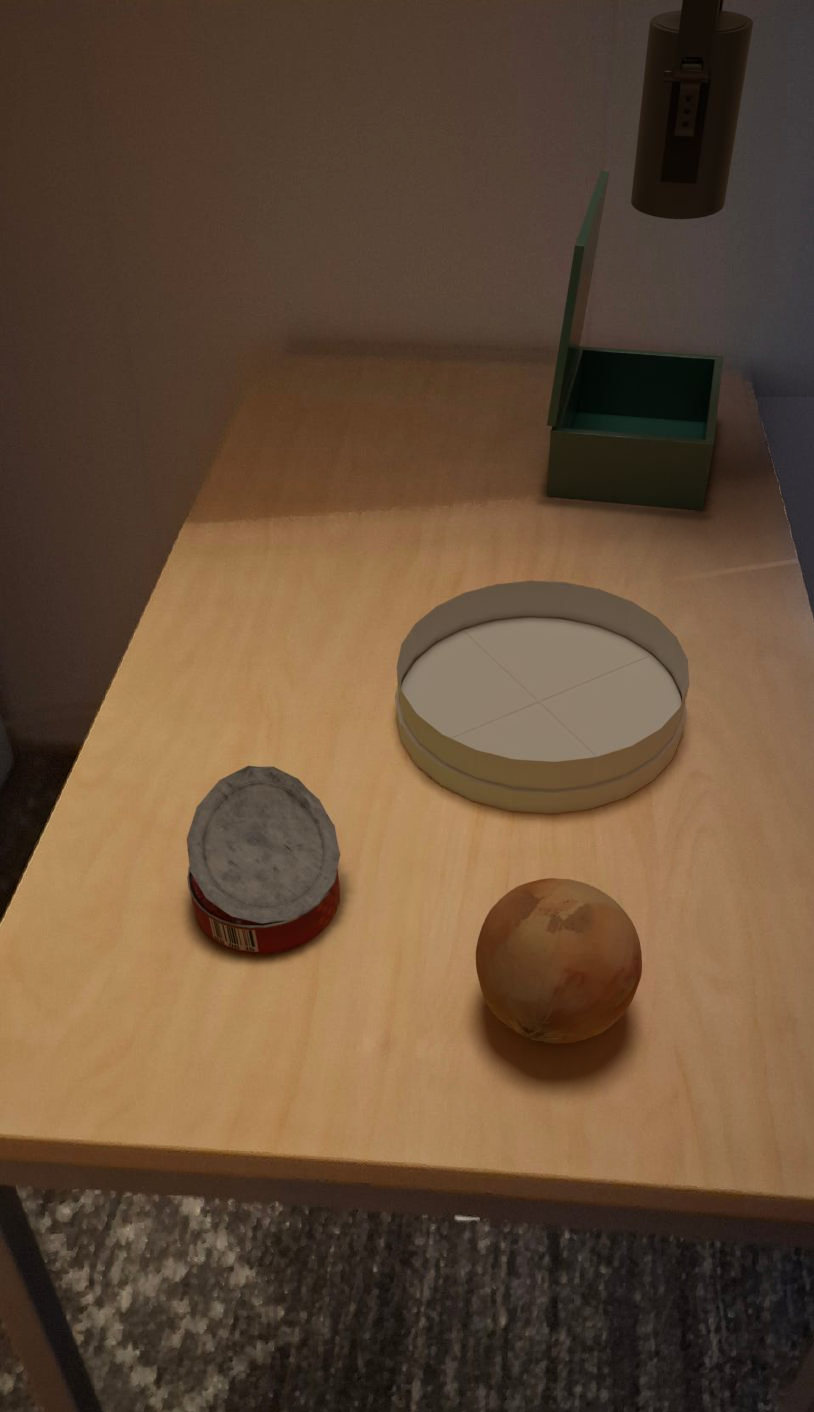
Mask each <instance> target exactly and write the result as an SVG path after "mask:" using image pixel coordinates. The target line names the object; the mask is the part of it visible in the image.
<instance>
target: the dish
mask: <svg viewBox="0 0 814 1412" xmlns="http://www.w3.org/2000/svg"><path fill="white" fill-rule="evenodd" d="M399 648H400V650H399V653H398V659H397V663H396V679H397V686H396V691H395V694H394V699H395V700H394V701H395V709H396V710H395V714H396V715H395V716H396V722H397V726H398V732H399V737H400V740H401V743H402V744H403V746H404V748H405V750H406V752H408V754H409V755H410V757H411V759H412V761H413V762H414V764H415V766H417V767H418V768H419V769H421V770H422V771H423V772H424V773H425V774H426V775H428V776H429V777H430V778H431V779H433V781H435V782H436V783H438V785H440V786H441V787H444V788H445V789H447V790H449V791H451V792H453V793H456V794H458V795H460V796H461V797H463V798H466V799H468V800H470V801H472V802H475V803H478V804H483V805H487V806H489V807H494V808H498V809H502V810H505V811H509V812H520V813H534V814H548V815H550V814H551V815H552V814H561V813H569V812H577V811H585V810H592V809H596V808H598V807H601V806H604V805H608V804H611V803H613V802H616V801H619V800H622V799H625V798H627V797H629V796H631V795H633V794H634V793H636V792H637V791H639V790H641V789H642V788H643V787H645V786H647V785H649V784H650V783H652V782H653V781H655V780H656V778H657V777H658V776H659V775H660V774H661V773H662V772H663V770H664V769H665V768H666V767H667V766H668V765H669V763H671V762H672V760H673V759H674V757H675V754H676V752H677V749H678V746H679V744H680V741H681V738H682V736H683V731H684V727H685V721H686V716H687V697H688V691H689V687H690V674H689V659H688V657H687V655H686V654H685V651H684V649H683V647H682V645H681V643H680V641H679V639H678V637H677V636H676V635H675V633H673V631H671V630H670V628H669V627H668V626H666V624H665V623H664V622H663V621H662V620H661V619H660V618H659V617H658V616H656V615H654V614H653V613H651V612H649V611H648V610H646V609H645V608H643V607H641V606H639V604H637V603H635V602H633V601H632V600H629V599H626V598H625V597H621V596H619V595H617V594H613V593H611V592H609V591H605V590H603V589H601V588H596V587H590V586H586V585H581V584H576V583H572V582H566V581H544V580H525V581H513V582H504V583H496V584H492V585H488V586H484V587H481V588H477V589H473V590H470V591H465V592H463V593H461V594H459V595H456V596H454V597H452V598H451V599H448V600H447V601H445V602H442V603H440V604H438V605H436V606H435V607H434V608H432V610H430V611H429V612H427V613H426V614H425V615H424V616H423V617H422V618H421V619H419V620H418V621H416V623H414V625H413V626H412V627H411V629H410V631H409V632H408V633H407V635H406V637H405V638H404V639H403V641H402V643H401V644H400V647H399Z"/></svg>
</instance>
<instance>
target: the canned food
mask: <svg viewBox="0 0 814 1412" xmlns="http://www.w3.org/2000/svg"><path fill="white" fill-rule="evenodd" d="M322 803H323V802H321V800H320V799H319V798H318V797H317V796H316V795H315V794H314V793H313V792H312V791H310V789H308V788H307V787H306V785H305V784H304V783H303V782H302V781H301V780H300V779H299V778H298V777H296V776H294V775H291V774H290V773H287V772H285V771H283V770H282V769H280V768H278V767H275V766H255V765H247V766H245V767H242V768H241V769H239V770H237V771H234V772H233V773H230V774H229V775H227V776H224V777H223V778H221V779H218V781H217V782H216V783H215V785H213V786H212V788H211V789H210V791H209V792H208V793H207V794H206V795H205V797H204V798H203V799H201V801H200V802H199V804H198V805H197V806H196V808H195V812H194V815H193V818H192V821H191V824H190V827H189V831H188V834H187V836H186V845H187V857H188V865H189V866H188V871H187V886H188V891H189V894H190V896H191V902H192V905H193V909H194V913H195V916H196V919H197V922H198V924H199V926H200V927H201V929H202V930H203V932H205V934H206V935H207V936H208V937H209V938H210V939H211V940H213V941H214V942H215V943H217V944H219V945H220V946H223V947H225V949H229V950H232V951H236V952H238V953H241V954H249V955H250V954H251V955H270V954H276V953H282V952H287V951H289V950H292V949H295V948H299V947H300V946H302V945H304V944H306V943H307V942H310V941H311V940H313V939H314V938H315V937H316V936H318V935H320V934H321V933H322V932H323V931H324V930H325V928H327V926H328V925H329V924H330V923H331V921H332V920H333V918H334V916H335V914H336V913H337V910H338V908H339V904H340V901H341V900H340V898H341V897H340V896H341V893H340V892H341V887H340V879H339V878H340V877H339V870H338V867H339V863H340V857H341V851H340V847H339V842H338V836H337V830H336V826H335V823H333V821H332V820H331V818H330V816H329V814H328V812H327V811H326V808H324V805H323V804H322Z"/></svg>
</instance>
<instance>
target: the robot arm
mask: <svg viewBox="0 0 814 1412" xmlns="http://www.w3.org/2000/svg"><path fill="white" fill-rule="evenodd" d="M724 3H725V0H682V4H681V9H680V10H681V18H680V25H679V33H678V41H677V49H676V57H675V63H674V64H673V66H672V71H664V77H663V82H665V83H672V88H671V96H670V105H669V113H668V121H667V130H666V138H665V146H664V154H663V163H662V171H661V179H660V182H672V183H692V184H696V182H697V175H698V168H699V161H700V154H701V147H702V140H703V133H704V126H705V119H706V112H707V105H708V98H709V90H710V83H711V80H709V79H710V78H711V74H712V66H711V60H712V54H713V47H714V40H715V34H716V27H717V20H718V14H719V10H722V11H724ZM685 57H700V58H702V59H684V58H685Z"/></svg>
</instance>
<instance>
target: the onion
mask: <svg viewBox="0 0 814 1412" xmlns="http://www.w3.org/2000/svg"><path fill="white" fill-rule="evenodd" d="M475 947H476V948H475V968H476V974H477V978H478V982H479V986H480V990H481V994H482V997H483V999H484V1001H485V1003H486V1005H487V1006H488V1008H489V1009H490V1011H491V1012H492V1013H493V1015H494V1016H495V1017H496V1018H497V1019H498V1020H499V1021H501V1022H502V1023H503V1024H504V1025H506V1026H507V1027H508V1028H510V1029H511V1030H513V1031H514V1032H516V1033H518V1034H520V1035H521V1036H523V1037H525V1038H526V1039H529V1040H531V1041H536V1042H539V1041H540V1042H544V1043H547V1044H569V1043H576V1042H577V1043H578V1042H581V1041H584V1040H587V1039H590V1038H592V1037H596V1036H598V1035H600V1034H601V1033H603V1032H605V1031H606V1030H607V1029H609V1028H610V1027H612V1026H613V1025H614V1024H615V1023H616V1022H617V1021H618V1020H619V1019H621V1017H622V1016H623V1015H624V1014H625V1013H626V1011H627V1010H628V1008H629V1006H630V1005H631V1003H632V1001H633V999H634V997H635V995H636V992H637V990H638V987H639V985H640V981H641V980H642V979H641V978H642V973H643V958H642V957H643V956H642V954H643V953H642V947H641V940H640V937H639V934H638V932H637V929H636V927H635V925H634V923H633V920H632V919H631V918H630V916H629V915H628V913H627V912H626V911H625V909H623V907H622V906H621V905H620V904H619V903H618V902H617V901H616V900H615V899H614V898H613V897H612V896H610V895H608V894H607V893H605V892H604V891H602V890H601V889H599V888H597V887H595V886H593V885H591V884H589V883H585V882H583V881H578V880H574V879H569V878H557V877H556V878H554V877H550V878H542V879H541V878H540V879H537V880H532V881H528V882H526V883H523V884H520V885H518V886H515V887H514V888H513V889H511V890H509V891H508V892H507V893H506V894H504V895H503V896H502V897H500V898H499V900H498V901H497V902H496V903H495V904H494V905H493V906H492V907H491V909H490V910H489V911H488V913H487V915H486V917H485V918H484V921H483V923H482V926H481V928H480V931H479V933H478V939H477V942H476V946H475Z"/></svg>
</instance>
